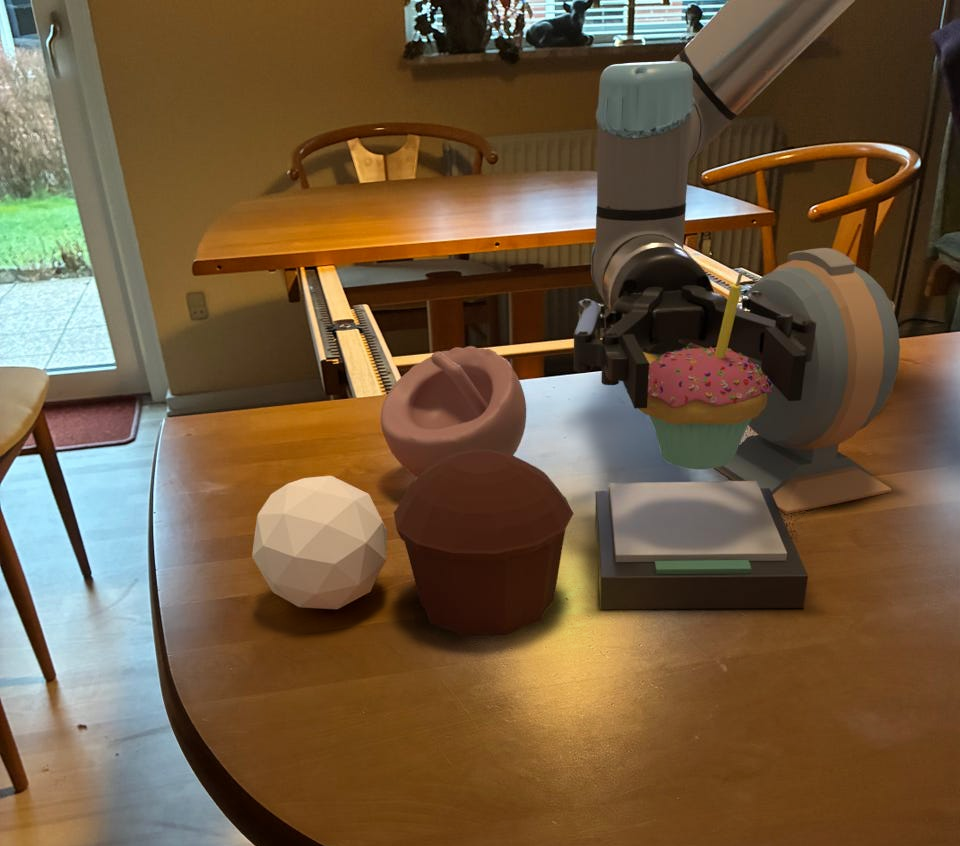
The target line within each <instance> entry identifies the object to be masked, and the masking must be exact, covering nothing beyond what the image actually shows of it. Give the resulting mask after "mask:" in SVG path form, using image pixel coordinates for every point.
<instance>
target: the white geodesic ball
mask: <svg viewBox="0 0 960 846" xmlns="http://www.w3.org/2000/svg"><path fill="white" fill-rule="evenodd" d="M255 523H256V524H255V530H254V538H253V545H252V553H251V558H252V560H253V561H254V563H255V565H256V566H257V568H258V570H259V572H260V573H261V575H262V577H263V578H264V580H265V583H266V584H267V585H268V586H269V588H270V591H271V592H272V593H273V594H275V595H277V596H279V597H281V598H282V599H284V600H286V601H287V602H289V603H291V604H293V605H294V606H296V607H298V608H307V609H308V608H309V609H326V610H339V609H341V608H342V607H345V606H346V605H348V604H350V603H352V602H354V601H355V600H358V599H359V598H361V597H363V596H365V595H367V594H369V593H370V592H371V591H372V589H373V587H374V585H375V583H376V581H377V579H378V577H379V575H380V573H381V571H382V569H383V567H384V565H385V562H386V561H387V548H388V547H387V542H388V528H387V527H386V525H385V522H384V520H383V519H382V517H381V515H380V513H379V511H378V509H377V507H376V505H375V503H374V501H373V499H372V497H371V495H370V493H368V492H366V491H363V490H361V489H360V488H358V487H356V486H354V485H351V484H349V483H347V482H345V481H343V480H341V479H339V478H337V477H335V476H333V475H323V476H313V477H303V478H300V479H298V480H297V479H296V480H295V481H292V482H291V481H290V482H288V483H286V484H285V485H283V486H282V487H280V488H278V489H277V490H275V491H274V492H272V493H271V494H270V495H269V496H268V498H267V500H266V501H265V502H264V504H263V505H262V507H261V508H260V510H259V512H258V513H257V516H256V521H255Z"/></svg>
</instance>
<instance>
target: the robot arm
mask: <svg viewBox="0 0 960 846" xmlns="http://www.w3.org/2000/svg"><path fill="white" fill-rule="evenodd" d="M855 1H856V0H727V1H726V2H725V4H724V5H723V6H722V7H721V8H720V9H719V10H718V11H717V12H716V13H715V14H714V15H713V16H712V17H711V19H710V20H709V21H708V22H707V23H706V24H705V25H704V26H703V27H702V28H701V29H700V30H699V32H698V33H697V34H696V35H694V37H693V38H692V39H691V40H690V41H689V42H688V43H687V44H686V46H685V47H684V48H683V49H682V50H681V51H680V52H679V53H678V54H677V55H676V56H675V57H673V59H671V61H667V60H666V61H645V62H643V61H641V62H628V63H617V64H616V63H615V64H611V65H609V66H607V67H606V68H604V70H603V71H602V73H601V74H600V77H599V85H598V86H599V88H598V103H597V108H596V111H595V120H596V123H597V124H596V125H597V137H596V138H597V140H596V141H597V142H596V143H597V151H596V153H597V154H596V157H597V160H596V161H597V162H596V163H597V164H596V165H597V167H596V168H597V170H596V215H595V241H594V244H593V245H592V246H593V247H592V249H591V253H590V254H591V255H590V274H591V280H592V282H593V283H594V287H595V289H596V291H597V293H598V295H599V296H601V299H602V300H603V303H602V302H600V303H597V302H596V301H595V300H593V299H590V298H583V300H582V299H581V300H579V301H578V302H577V303H578V304H577V305H578V310H577V312H578V313H577V315H578V316H577V317H578V318H577V320H578V321H577V322H578V323H577V325H576V327H575V330H574V332H573V371H574V372H575V373H578V374H586V373H589V372H591V371H592V370H593V366H594V367H595V366H596V367H600V368H601V379H600V380H601V384H602V385H603V386H616V385H620V382H622V384H623V386H624V388H625V390H626V392H627V395H628V397H629V399H630V401H631V404H632V406H633V408H634V409H637V410H638V408H647V399H648V377H649V365H650V363H649V359H648V358H647V357H646V355H645V354H648V355H654V356H662V355H664V354H666V352H674V351H675V350H677V349H680V350H683V348H684V349H686V348H687V347H689V346H690V345H695V346H696V347H697V346H698V347H700V348H710V347H712V348H716V347H717V343H718V339H719V335H720V330H721V326H722V322H723V317H724V313H725V309H726V304H727V300H728V298H727V297H725V296H724V295H722V294H719V293H715V291H714V287H713V284H712V281H711V280H710V277H709V275H708V274H707V272H706V271H705V269H704V268H703V267H702V266H701V265H700V264H699V263H698V262H697V261H696V260H695V259H694V258H693V257H692V255H690V254H689V252H688V251H687V250H685V248H684V244H685V243H684V242H685V230H686V229H685V227H686V226H685V225H686V211H687V210H686V209H687V202H686V201H687V191H688V178H689V177H688V176H689V166H690V165H691V164H692V163H693V162H694V161H695V160H696V159H698V157H700V155H701V154H702V153H703V152H704V151H705V150H706V148H707V147H708V146H709V145H710V144H711V143H712V142H713V141H714V140H715V139H716V138H717V137H718V136H719V135H720V134H721V133H722V132H723V131H724V130H725V129H727V127H729V125H730V124H732V122H733V121H734V119H736V118H737V117H738V116H739V115H740V114H741V113H742V112H743V111H744V110H745V109H746V108H747V107H748V106H749V105H750V104H751V103H752V102H753V101H754V100H755V99H757V97H758V96H759V95H760V94H762V92H763V91H764V90H765V89H766V88H767V87H768V86H769V85H770V84H771V83H772V82H773V81H775V79H776V78H777V77H778V76H779V75H781V74H782V73H783V72H784V70H786V69H787V68H788V67H789V66H790V65H791V64H792V63H793V62H794V61H795V60H796V59H797V58H798V57H799V56H800V55H801V54H802V53H804V51H805V50H806V49H807V48H808V47H809V46H810V45H811V44H812V43H813V42H815V40H816V39H818V38H819V37H820V36H821V35H822V33H824V31H826V29H828V28H829V27H830V26H831V25H832V24H833V23H834V22H835V21H836V20H837V19H838V18H839V17H840V16H841V15H842V14H843V13H844V12H845V11H846V10H847V9H848V8H849V7H850V6H851V5H852V4H854V2H855ZM741 299H742V303H740V302H738V305H737V309H736V314H735V318H734V322H733V326H732V330H731V335H730V339H729V343H728V347H727V348H728V349H731V350H732V351H734V352H736V353H741V354H742V355H745V356H748V357H750V358H753V359H756V360H759V361H762V362H761V369H762V372H763V373H764V374H765V375H766V376H767V377H768V378H769V380H770V381H771V382H772V383H773V384H774V385H775V386H776V388H777V389H778V390H779V391H780V392H781V393H782V394H783V396H784V397H785V398H786V399H787V400H788V401H801V396H802V388H803V380H804V373H805V365H806V362H809V361H811V360H812V354H813V347H814V340H815V332H816V324H817V323H816V322H815V321H813V320H811V319H808V318H806V317H804V316H802V315H800V314H798V313H796V312H794V311H792V310H789V309H787V308H785V307H783V306H781V305H779V304H777V303H775V302H773V301H771V300H768V298H767V296H766V294H765V293H762V292H760V291H754V292H751V293H749V294H748V297H743V296H742V297H741ZM606 307H607V308H606ZM610 326H611V327H610ZM609 327H610V328H609ZM605 330H606V331H605Z"/></svg>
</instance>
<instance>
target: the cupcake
mask: <svg viewBox="0 0 960 846" xmlns="http://www.w3.org/2000/svg"><path fill="white" fill-rule="evenodd" d="M743 275H744V272H743V271H739V274H738V275H737V279H736V282H735V283H732V284H731V285H730V288H729V292H728V296H727V304H726V309H725V313H724V317H723V322H722V326H721V330H720V335H719V339H718V343H717V347H716V348H712V347H710V348H703V347H700V346H698V347H695V348H691V347H689V346H687V347H686V348H683V349H682V350H680V349H677V350H675V351H674V352H666V354H664V355H659V356H658V357H656V359H655V360H653V361H652V362H651V363H649V377H648V399H647V408H637V410H638V411H640V412H641V413H643V414H644V415H646V416H648V418H649V419H650V421H651V423H652V426H653V429H654V433H655V436H656V439H657V444H658V446H659V450H660V455H661V457H662V459H663V460H664V461H665V462H666V463H668V464H670V465H673V466H674V467H675V466H676V467H677V468H683V469H689V470H709V469H715V468H717V467H721V466H724V465H726V464H728V463H730V462H731V461H732V460H733V459H734V456H735V454H736V451H737V449H738V446H739V445H740V444H741V443H742V442H741V441H742V439H743V437H744V434H745V433H746V431H747V428H748V427H749V423H750V421H751V419H752V418H756V417H757V416H758V415H759V414H760V412H761V411H762V410H764V409H765V407H766V404H767V393H771V388H772V385H771V383H769V379H767V376H765V375H764V374H763V372H762V369H761V368H759V366H758V365H756V364H753V363H752V360H751V359H748V358H747V357H745V356H743V355H742V354H741V353H738V354H737V353H735V352H733V351H732V350H731V349H728V348H727V347H728V343H729V339H730V335H731V330H732V326H733V322H734V318H735V314H736V309H737V305H738V303H739V302H740V297H741V292H742V288H743V287H742V285H741V284H740V283H741V280H742V276H743ZM750 360H751V361H750Z"/></svg>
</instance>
